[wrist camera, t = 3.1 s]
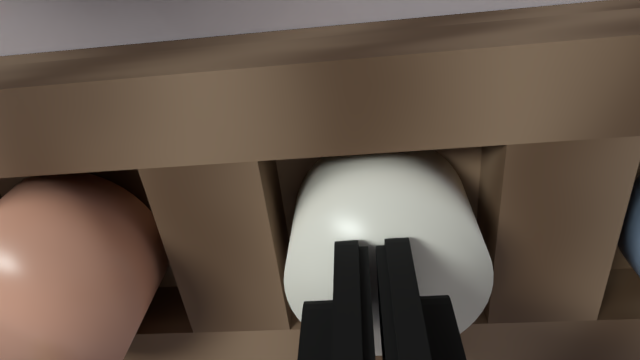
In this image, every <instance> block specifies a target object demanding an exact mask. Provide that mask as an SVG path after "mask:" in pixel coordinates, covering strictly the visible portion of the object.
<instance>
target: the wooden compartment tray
mask: <svg viewBox="0 0 640 360" xmlns="http://www.w3.org/2000/svg"><path fill="white" fill-rule="evenodd" d="M420 150H434V151H435V152H437V153H438V154H440V155H441V156H442V157H443V158H445V159H446V160H447V161H448V162H449V163H450V164H451V166H452V167H453V168H454V170H455V171H456V172H457V174H458V176H459V178H460V180H461V182H462V184H463V187H464V190H465V192H466V195H467V198H468V200H469V203H470V205H471V208H472V211H473V213H474V216H475V218H476V221H477V224H478V226H479V229H480V231H481V234H482V237H483V239H484V242H485V245H486V247H487V250H488V252H489V255H490V258H491V261H492V266H493V272H494V274H493V287H492V292H491V295H490V298H489V300H488V303H487V304H486V306H485V308H484V310H483V311H482V313H481V314H480V315H479V317H478V318H477V319H476V320H475V321H474V322H473V323H472V324H471V325H470V326H469V327H468V328H467V329H466V330H464V331H463V332H462V333H460V336H461V340H462V344H463V348H464V352H465V355H466V359H467V360H640V277H639V276H638V275H637V273H636V272H635V271H634V269H633V268H632V267H631V265H630V264H629V263H628V261H627V260H626V259H625V257H624V256H623V254H622V253H621V251H620V250H619V247H618V245H617V244H618V240H619V236H620V232H621V229H622V225H623V221H624V218H625V214H626V210H627V207H628V203H629V199H630V195H631V192H632V188H633V184H634V181H635V180H636V179H637V178H638V177H639V175H640V0H606V1H595V2H585V3H574V4H563V5H552V6H541V7H531V8H520V9H509V10H498V11H487V12H476V13H466V14H455V15H444V16H433V17H422V18H412V19H401V20H390V21H379V22H368V23H358V24H347V25H336V26H325V27H314V28H303V29H293V30H282V31H271V32H260V33H249V34H239V35H228V36H217V37H206V38H195V39H185V40H174V41H163V42H152V43H141V44H130V45H120V46H109V47H98V48H87V49H76V50H66V51H55V52H44V53H33V54H22V55H12V56H1V57H0V199H1V198H2V197H3V196H4V195H5V194H6V193H8V192H9V191H10V190H11V189H12V188H13V187H14V186H16V185H17V184H18V183H19V182H21V181H22V180H24V179H25V178H27V177H29V176H41V175H56V174H71V173H89V174H92V175H95V176H98V177H101V178H104V179H106V180H109V181H111V182H113V183H115V184H117V185H119V186H120V187H122V188H124V189H126V190H127V191H128V192H130V193H131V194H133V195H134V196H135V197H137V198H138V199H139V200H140V201H141V202H142V203H144V204H145V206H146V207H147V208H148V209H149V210H150V211H151V212H152V213H153V216H154V219H155V222H156V225H157V228H158V230H159V233H160V236H161V239H162V242H163V245H164V248H165V251H166V254H167V257H168V260H169V263H168V267H167V270H166V272H165V274H164V276H163V279H162V281H161V283H160V285H159V287H158V289H157V291H156V293H155V295H154V297H153V299H152V301H151V303H150V306H149V308H148V310H147V312H146V314H145V316H144V318H143V320H142V322H141V324H140V326H139V328H138V330H137V333H136V335H135V337H134V339H133V341H132V343H131V345H130V347H129V349H128V351H127V353H126V355H125V357H124V360H297V358H298V348H299V338H300V328H301V322H300V320H299V319H298V318H297V317H296V315H295V314H294V312H293V311H292V309H291V307H290V305H289V303H288V300H287V297H286V293H285V288H284V270H285V264H286V259H287V253H288V247H289V241H290V235H291V229H292V224H293V218H294V212H295V206H296V200H297V196H298V192H299V189H300V186H301V184H302V181H303V180H304V178H305V176H306V175H307V173H308V172H309V170H310V169H311V168H312V167H313V165H314V164H315V163H316V162H318V161H319V160H320V159H321V158H322V157H329V156H344V155H360V154H375V153H390V152H405V151H420ZM375 359H376V360H382V356H376V355H375Z"/></svg>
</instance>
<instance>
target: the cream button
mask: <svg viewBox="0 0 640 360" xmlns="http://www.w3.org/2000/svg"><path fill="white" fill-rule="evenodd" d="M406 237H408V238H409V241H410V246H411V252H412V257H413V262H414V268H415V273H416V278H417V284H418V289H419V294H420V296H435V295H449V297H450V299H451V302H452V306H453V310H454V313H455V317H456V321H457V325H458V329H459V332H460V333H462V332H463V331H464V330H466V329H467V328H468V327H469V326H470V325H471V324H472V323H473V322H474V321H475V320H476V319H477V318H478V317H479V315H480V314H481V313H482V311H483V310H484V308H485V306H486V304H487V303H488V300H489V298H490V295H491V292H492V287H493V274H494V272H493V266H492V261H491V258H490V255H489V252H488V250H487V247H486V245H485V242H484V239H483V237H482V234H481V231H480V229H479V226H478V224H477V221H476V218H475V216H474V213H473V211H472V208H471V205H470V203H469V200H468V198H467V195H466V192H465V190H464V187H463V184H462V182H461V180H460V178H459V176H458V174H457V172H456V171H455V170H454V168H453V167H452V166H451V164H450V163H449V162H448V161H447V160H446V159H445V158H443V157H442V156H441V155H440V154H438V153H437V152H435V151H434V150H420V151H405V152H390V153H375V154H360V155H344V156H329V157H322V158H321V159H320V160H319V161H318V162H316V163H315V164H314V165H313V167H312V168H311V169H310V170H309V172H308V173H307V175H306V176H305V178H304V180H303V181H302V184H301V186H300V189H299V192H298V196H297V200H296V206H295V212H294V218H293V224H292V229H291V235H290V241H289V247H288V253H287V259H286V264H285V270H284V288H285V293H286V297H287V300H288V303H289V305H290V307H291V309H292V311H293V312H294V314H295V315H296V317H297V318H298V319H299V320H300V322H301V318H302V309H303V303H304V301H321V300H333V275H334V242H335V241H352V240H358V243H359V246H368V255H369V270H370V284H371V299H372V314H373V329H374V344H375V355H376V356H382V348H381V335H380V318H379V300H378V282H377V264H376V246H378V245H385V244H384V239H388V238H406Z"/></svg>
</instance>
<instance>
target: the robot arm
mask: <svg viewBox="0 0 640 360" xmlns="http://www.w3.org/2000/svg"><path fill="white" fill-rule="evenodd" d="M384 244H385V245H378V246H376V264H377V282H378V300H379V318H380V335H381V348H382V360H467V359H466V355H465V352H464V348H463V344H462V340H461V336H460V332H459V329H458V325H457V321H456V317H455V313H454V310H453V306H452V302H451V299H450V297H449V295H435V296H420V294H419V289H418V284H417V278H416V273H415V268H414V262H413V257H412V252H411V246H410V241H409V238H408V237H406V238H388V239H384ZM297 360H376V359H375V344H374V329H373V314H372V299H371V284H370V270H369V255H368V246H359V243H358V240H352V241H335V242H334V275H333V300H321V301H304V303H303V309H302V318H301V328H300V338H299V348H298V358H297Z"/></svg>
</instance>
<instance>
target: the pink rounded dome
mask: <svg viewBox="0 0 640 360" xmlns="http://www.w3.org/2000/svg"><path fill="white" fill-rule="evenodd" d="M168 263H169V260H168V257H167V254H166V251H165V248H164V245H163V242H162V239H161V236H160V233H159V230H158V228H157V225H156V222H155V219H154V216H153V213H152V212H151V211H150V210H149V209H148V208H147V207H146V206H145V204H144V203H142V202H141V201H140V200H139V199H138V198H137V197H135V196H134V195H133V194H131V193H130V192H128V191H127V190H126V189H124V188H122V187H120V186H119V185H117V184H115V183H113V182H111V181H109V180H106V179H104V178H101V177H98V176H95V175H92V174H89V173H71V174H56V175H41V176H29V177H27V178H25V179H24V180H22V181H21V182H19V183H18V184H17V185H16V186H14V187H13V188H12V189H11V190H10V191H9V192H8V193H6V194H5V195H4V196H3V197H2V198H1V199H0V360H124V357H125V355H126V353H127V351H128V349H129V347H130V345H131V343H132V341H133V339H134V337H135V335H136V333H137V330H138V328H139V326H140V324H141V322H142V320H143V318H144V316H145V314H146V312H147V310H148V308H149V306H150V303H151V301H152V299H153V297H154V295H155V293H156V291H157V289H158V287H159V285H160V283H161V281H162V279H163V276H164V274H165V272H166V270H167V267H168Z"/></svg>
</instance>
